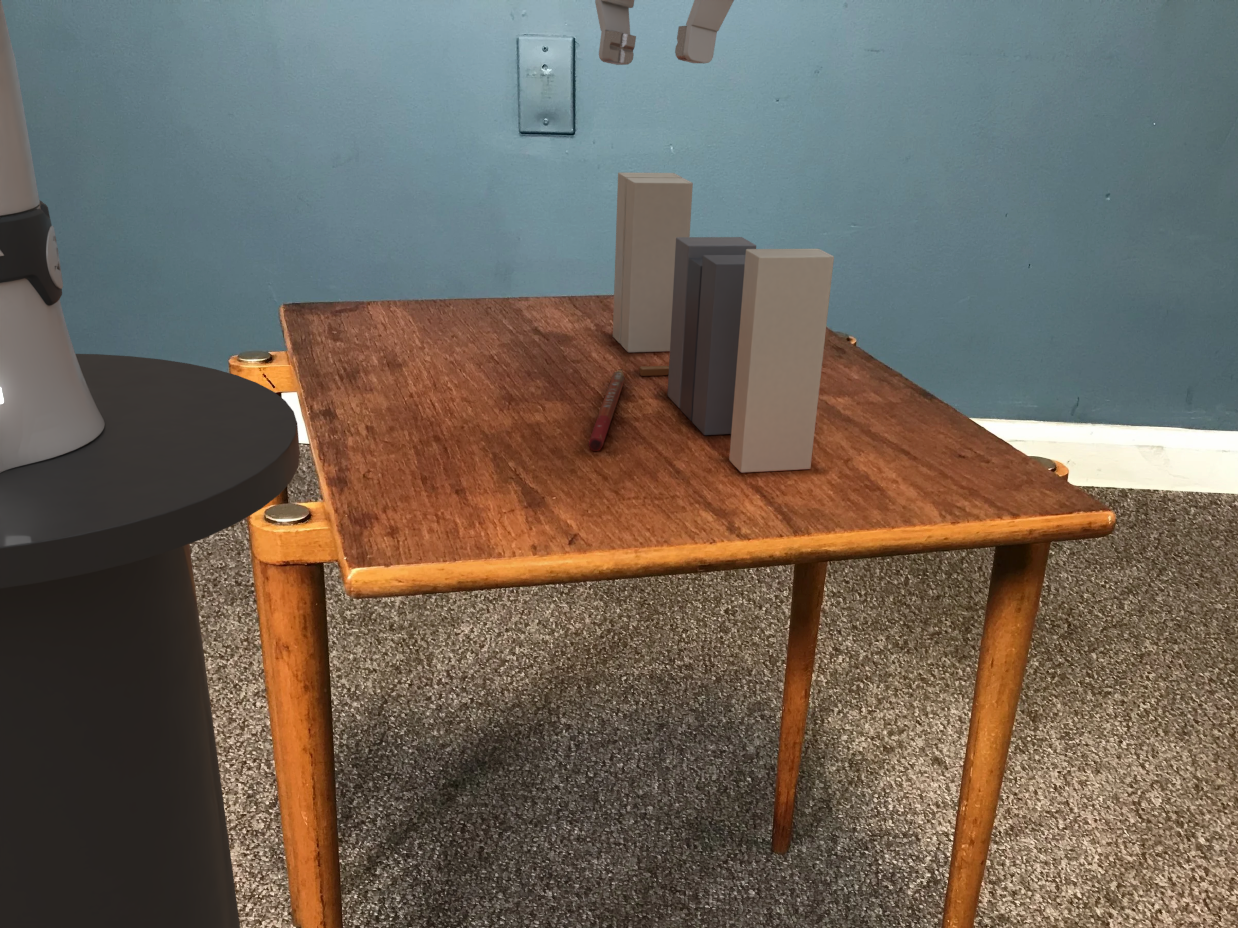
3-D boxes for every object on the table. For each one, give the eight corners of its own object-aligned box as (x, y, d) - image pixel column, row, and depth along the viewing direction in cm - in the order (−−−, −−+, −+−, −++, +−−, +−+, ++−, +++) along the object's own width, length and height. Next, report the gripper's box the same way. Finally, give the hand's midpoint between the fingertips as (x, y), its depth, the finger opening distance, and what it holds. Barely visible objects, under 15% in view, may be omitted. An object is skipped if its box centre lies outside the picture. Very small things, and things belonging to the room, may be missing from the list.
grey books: (704, 435, 91) (715, 264, 85) (667, 396, 99) (675, 237, 93) (772, 432, 92) (788, 263, 87) (730, 393, 100) (742, 236, 95)
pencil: (602, 452, 87) (603, 438, 86) (587, 451, 87) (587, 437, 86) (627, 375, 103) (628, 363, 103) (614, 374, 103) (615, 363, 103)
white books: (641, 376, 104) (649, 196, 97) (604, 336, 114) (609, 172, 108) (715, 373, 105) (728, 196, 99) (673, 335, 116) (682, 172, 109)
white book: (740, 473, 84) (759, 256, 78) (728, 460, 86) (745, 248, 80) (810, 469, 86) (834, 256, 79) (797, 457, 88) (819, 248, 81)
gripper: (559, -182, 81) (533, 55, 85) (741, -247, 64) (697, 49, 69) (644, -154, 84) (614, 73, 88) (837, -209, 68) (789, 71, 72)
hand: (652, 62), depth 78 cm, fingers open, 8 cm apart
